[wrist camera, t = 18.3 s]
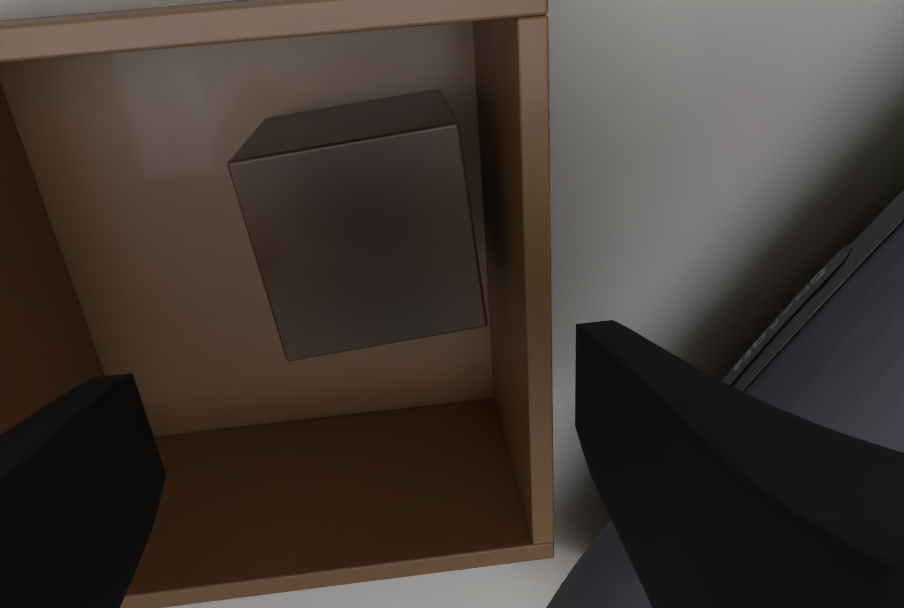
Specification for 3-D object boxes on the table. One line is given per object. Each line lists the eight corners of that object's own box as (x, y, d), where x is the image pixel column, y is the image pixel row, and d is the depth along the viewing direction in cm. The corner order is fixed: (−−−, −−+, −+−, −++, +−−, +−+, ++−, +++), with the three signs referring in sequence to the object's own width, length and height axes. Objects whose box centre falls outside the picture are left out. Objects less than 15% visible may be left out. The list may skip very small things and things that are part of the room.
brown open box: (121, 444, 21) (18, 627, 15) (-31, 23, 15) (-285, 49, 10) (507, 399, 21) (554, 558, 15) (488, -21, 16) (548, -21, 10)
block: (307, 280, 18) (286, 363, 14) (263, 118, 16) (225, 162, 12) (466, 252, 18) (488, 327, 14) (440, 88, 16) (459, 121, 12)
